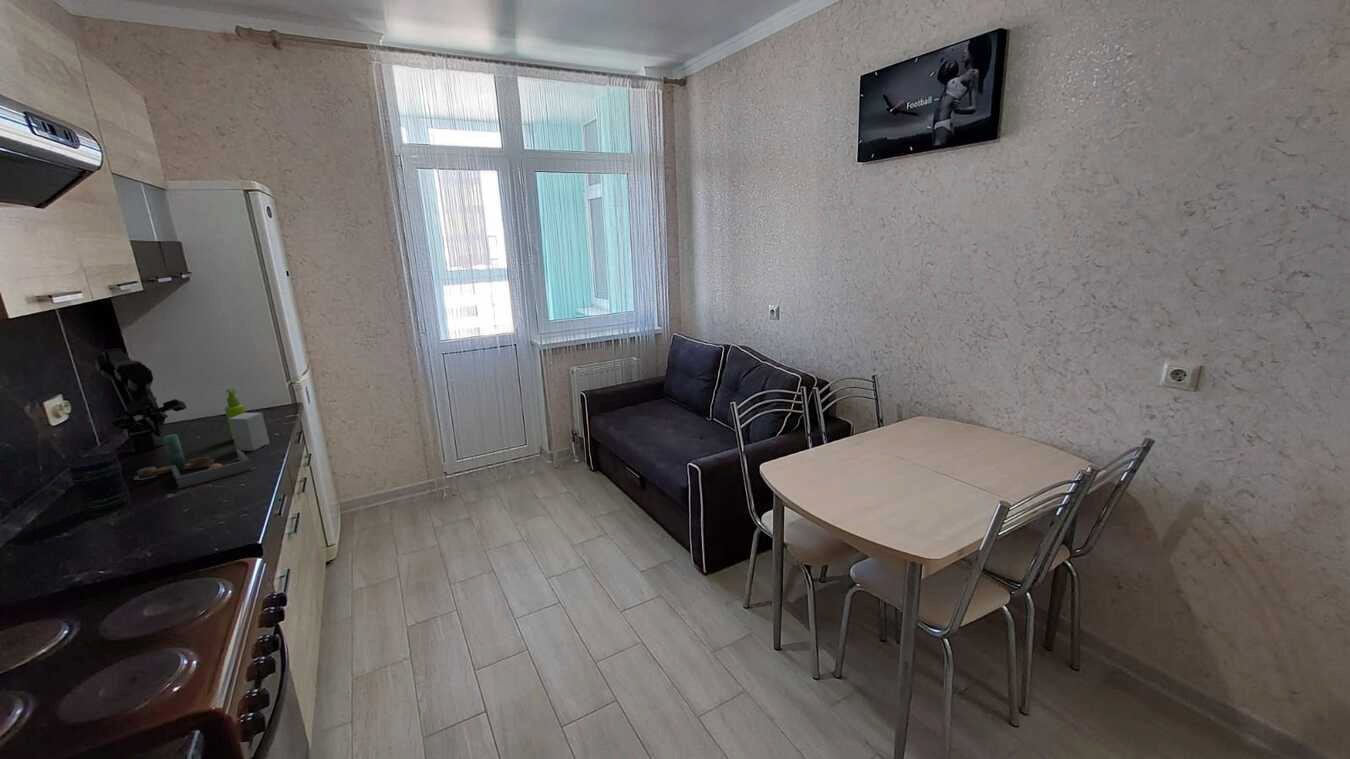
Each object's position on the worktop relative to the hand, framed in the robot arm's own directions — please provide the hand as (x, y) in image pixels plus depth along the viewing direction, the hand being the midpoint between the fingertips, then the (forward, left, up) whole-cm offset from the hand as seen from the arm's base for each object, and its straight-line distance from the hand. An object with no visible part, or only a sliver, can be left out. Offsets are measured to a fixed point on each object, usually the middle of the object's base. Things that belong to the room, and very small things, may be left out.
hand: (159, 436), depth 186 cm
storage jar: (+34, +9, -10) cm, 37 cm away
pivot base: (+12, +3, -10) cm, 16 cm away
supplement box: (-10, +23, -10) cm, 26 cm away
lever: (+9, +10, -9) cm, 16 cm away
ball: (+16, +26, -8) cm, 31 cm away
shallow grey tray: (+13, +23, -10) cm, 28 cm away
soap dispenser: (-21, +13, -10) cm, 26 cm away
